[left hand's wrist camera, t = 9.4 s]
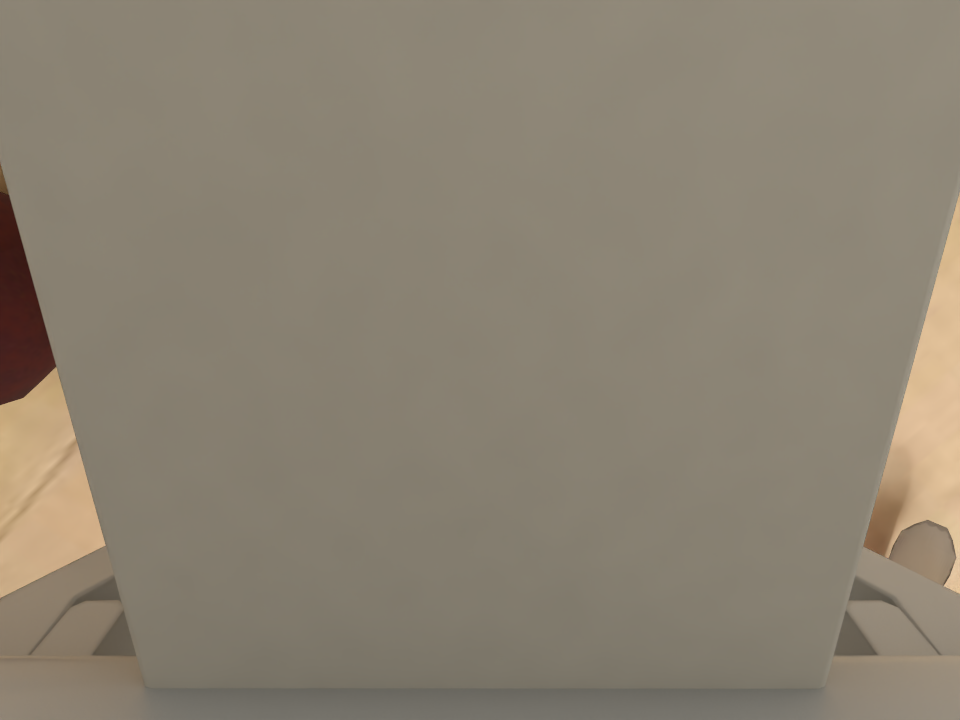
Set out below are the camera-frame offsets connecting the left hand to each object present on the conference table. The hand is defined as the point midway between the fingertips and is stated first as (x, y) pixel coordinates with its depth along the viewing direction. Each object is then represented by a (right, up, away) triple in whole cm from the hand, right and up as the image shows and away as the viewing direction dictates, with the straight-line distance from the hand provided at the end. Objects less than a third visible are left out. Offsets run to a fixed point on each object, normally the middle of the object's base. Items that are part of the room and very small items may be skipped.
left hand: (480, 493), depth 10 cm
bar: (0, +9, 0) cm, 9 cm away
